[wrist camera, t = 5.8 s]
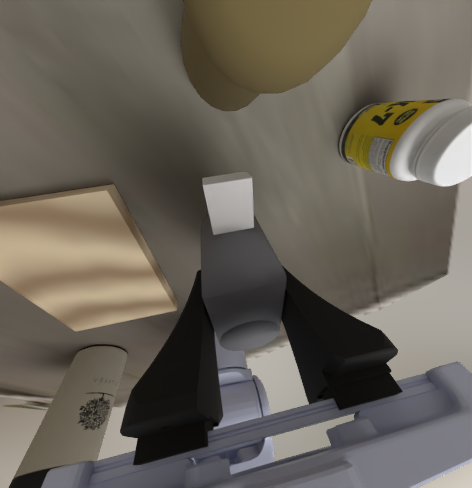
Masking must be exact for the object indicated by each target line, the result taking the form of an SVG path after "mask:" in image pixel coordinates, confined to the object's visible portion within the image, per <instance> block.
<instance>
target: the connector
mask: <svg viewBox="0 0 472 488" xmlns="http://www.w3.org/2000/svg"><path fill="white" fill-rule="evenodd" d="M202 182H203V189H204V194H205V198H206V203H207V207H208V212H209V214H208V215H207V216H206V217H205V219H204V220H203V223H202V225H201V282H202V298H203V301H204V304H205V306H206V309H207V312H208V314H209V317H210V320H211V322H212V325H213V328H214V330H215V333H216V336H217V338H218V341H219V344H220V346H221V347H222V348H224V349H226V350H231V351H245V350H251V349H255V348H258V347H260V346H263V345H265V344H267V343H269V342H270V341H272V340H273V339H274V338H276V336H277V335H278V334H279V331H280V325H281V318H282V310H283V303H284V296H285V288H286V280H287V278H286V273H285V271H284V269H283V267H282V265H281V263H280V262H279V260H278V258H277V256H276V254H275V252H274V251H273V249H272V247H271V245H270V243H269V241H268V240H267V238H266V236H265V234H264V232H263V230H262V229H261V227H260V225H259V223H258V221H257V219H256V218H255V216H254V214H253V187H252V177H251V176H250V175H249V173H248V172H247V171H245V172H238V173H231V174H225V175H218V176H212V177H205V178H202Z"/></svg>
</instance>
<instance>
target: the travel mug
mask: <svg viewBox="0 0 472 488" xmlns="http://www.w3.org/2000/svg"><path fill="white" fill-rule="evenodd" d="M126 359H127V353H126V352H125V351H124V350H122V349H120V348H117V347H113V346H94V347H89V348H86V349H83V350H81V351H79V352H78V353H77V354H76V356H75V358H74V360H73V362H72V364H71V366H70V368H69V369H68V371H67V373H66V375H65V377H64V379H63V381H62V383H61V385H60V387H59V389H58V391H57V393H56V395H55V397H54V399H53V401H52V403H51V405H50V407H49V409H48V411H47V413H46V415H45V417H44V419H43V421H42V423H41V425H40V427H39V429H38V431H37V433H36V435H35V437H34V439H33V441H32V443H31V445H30V447H29V448H28V450H27V452H26V454H25V456H24V459H23V461H22V462H21V465H20V466H19V468H18V470H17V472H16V474H15V476H14V479H13V480H12V482H11V484H10V486H9V488H41V487H42V484H43V482H44V480H45V477H46V475H47V473H48V472H49V471H50V470H51V469H54V468H58V467H61V466H65V465H69V464H73V463H77V462H81V461H94V462H95V461H97V458H98V455H99V452H100V448H101V445H102V441H103V438H104V435H105V431H106V428H107V424H108V421H109V417H110V414H111V411H112V407H113V404H114V400H115V397H116V394H117V390H118V387H119V383H120V380H121V376H122V373H123V370H124V366H125V363H126Z"/></svg>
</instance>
